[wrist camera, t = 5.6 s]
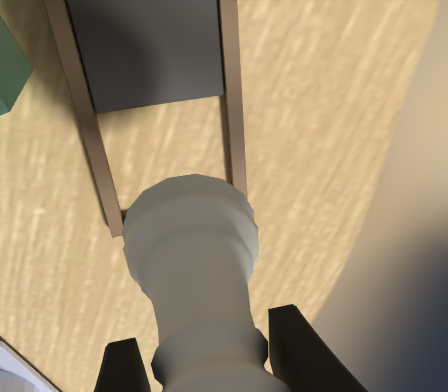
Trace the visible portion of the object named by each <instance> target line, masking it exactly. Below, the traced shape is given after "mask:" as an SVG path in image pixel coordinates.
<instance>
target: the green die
mask: <svg viewBox="0 0 448 392" xmlns="http://www.w3.org/2000/svg"><path fill="white" fill-rule="evenodd" d="M32 71H33V68H32V66H31V64H30V63H29V61H28V60H27V58H26V56H25V55H24V53H23V52H22V50H21V49H20V47H19V45H18V44H17V42H16V41H15V39H14V37H13V36H12V34H11V33H10V31H9V30H8V28H7V26H6V25H5V23H4V22H3V20H2V18H1V17H0V115H3V114H5V113H7V112H10V110H11V109H12V107H13V105H14V103H15V101H16V100H17V98H18V96H19V94H20V92H21V91H22V89H23V87H24V85H25V83H26V82H27V80H28V78H29V76H30V75H31V73H32Z"/></svg>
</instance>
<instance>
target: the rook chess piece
mask: <svg viewBox="0 0 448 392" xmlns="http://www.w3.org/2000/svg"><path fill="white" fill-rule="evenodd" d="M122 235H123V238H124V242H125V244H124V248H123V250H124V254H125V258H126V262H127V265H128V269H129V272H130V274H131V277H132V278H133V279H134V280H135V281H136V282H137V283H138V284H139V285H140V287H141V289H142V291H143V292H144V293H145V294H146V295H147V297H148V298H149V299H150V300H151V301H152V304H153V307H154V312H155V316H156V321H157V325H158V335H159V346H158V347H157V348H156V351H155V354H154V357H153V359H152V362H151V367H152V370H153V374H154V378H155V379H156V380H157V381H158V382H159V383H160V384H161V385H163V390H162V392H292V391H291V390H290V389H289V387H288V386H287V385H286V384H285V383H284V382H283V381H281V380H280V379H278V378H277V377H275V376H274V375H272V374H271V373H269V372H268V371H266V370H265V368H264V364H265V362H266V360H267V358H268V341H267V340H266V338H265V337H264V336H263V334H262V333H261V332H260V330H259V329H257V328H255V326H254V322H253V319H252V315H251V311H250V302H249V293H248V281H249V279H250V277H251V275H252V273H253V266H254V263H255V261H256V259H257V257H258V248H259V247H258V227H257V225H256V224H255V222H254V211H253V209H252V207H251V206H250V204H249V202H248V201H247V199H246V197H245V196H244V194H243V192H241V191H240V190H238V189H237V188H235V187H234V186H232V185H231V184H229V183H228V182H226V181H225V180H223V179H219V178H214V177H209V176H204V175H199V174H191V175H185V176H178V177H171V178H167V179H165V180H163V181H161V182H159V183H158V184H156V185H154V186H152V187H150V188H148V189H146V190H144V191H143V192H142V193H141V195H140V196H139V197H138V198H137V199H136V201H135V202H134V203H133V204H132V205H131V207H130V208H129V209H128V210H127V213H126V218H125V222H124V226H123V230H122Z"/></svg>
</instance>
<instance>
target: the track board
mask: <svg viewBox="0 0 448 392" xmlns="http://www.w3.org/2000/svg"><path fill="white" fill-rule="evenodd" d="M67 1H68V5H69V9H70V13H71V17H72V20H73V24H74V28H75V32H76V36H77V40H78V43H79V47H80V51H81V55H82V59H83V63H84V66H85V70H86V74H87V78H88V82H89V86H90V90H91V93H92V97H93V101H94V105H95V109H96V113H102V112H109V111H116V110H123V109H130V108H136V107H143V106H150V105H157V104H164V103H171V102H178V101H184V100H191V99H198V98H205V97H212V96H219V95H224V92H223V79H222V66H221V53H220V40H219V27H218V15H217V2H216V0H67ZM44 3H45V7H46V10H47V14H48V17H49V21H50V24H51V27H52V31H53V34H54V38H55V41H56V45H57V48H58V52H59V55H60V59H61V62H62V65H63V69H64V72H65V76H66V79H67V83H68V86H69V90H70V93H71V97H72V100H73V103H74V107H75V110H76V114H77V117H78V121H79V124H80V128H81V131H82V135H83V138H84V141H85V145H86V148H87V152H88V155H89V159H90V162H91V166H92V169H93V173H94V176H95V179H96V183H97V186H98V190H99V193H100V197H101V200H102V204H103V207H104V211H105V214H106V217H107V221H108V224H109V228H110V231H111V235H112V237H117V236H123V235H122V230H123V226H124V222H125V218H123V217H122V214H121V210H120V206H119V202H118V198H117V195H116V191H115V187H114V183H113V179H112V176H111V172H110V168H109V164H108V160H107V157H106V153H105V149H104V145H103V141H102V138H101V134H100V130H99V126H98V122H97V118H96V115H95V111H94V107H93V103H92V99H91V96H90V92H89V88H88V84H87V80H86V77H85V73H84V69H83V65H82V61H81V58H80V54H79V50H78V46H77V42H76V39H75V35H74V31H73V27H72V23H71V20H70V16H69V12H68V8H67V4H66V1H65V0H44ZM218 10H219V24H220V37H221V50H222V63H223V76H224V89H225V103H226V116H227V129H228V142H229V155H230V168H231V182H232V186H234V187H235V188H237V189H238V190H240V191H241V192H243V194H244V196H245V197H246V199H247V181H246V162H245V143H244V124H243V105H242V86H241V66H240V47H239V28H238V9H237V0H218Z"/></svg>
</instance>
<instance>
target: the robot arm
mask: <svg viewBox="0 0 448 392" xmlns="http://www.w3.org/2000/svg"><path fill="white" fill-rule="evenodd" d="M268 314H269V358H270V364H271V367H272V371H273V374H274V376H275V377H277V378H278V379H280V380H281V381H283V382H284V383H285V384H286V385H287V386H288V387H289V389H290V390H291V391H292V392H368V391H367V390H366V389H365V388H364V387H363V386H362V385H361V384H360V383H359V382H358V381H357V379H356V378H355V377H354V376H353V375H352V374H351V373H350V372H349V371H348V370H347V368H346V367H345V366H344V365H343V364H342V363H341V362H340V361H339V360H338V359H337V357H336V356H335V355H334V354H333V353H332V351H331V350H330V349H329V348H328V347H327V345H326V344H325V343H324V342H323V341H322V339H321V338H320V337H319V336H318V334H317V333H316V332H315V331H314V329H313V328H312V327H311V326H310V324H309V323H308V322H307V320H306V319H305V318H304V316H303V315H302V314H301V312H300V311H299V309H298V308H297V307H296V306H295V305H293V304H291V305H286V306H281V307H277V308H272V309H268ZM0 392H59V391H58V390H57V389H56V388H54V387H53V386H52V385H51V384H50V383H49V382H48V381H47V380H45V379H44V378H43V377H42V376H41V375H40V374H39V373H38V372H36V371H35V370H34V369H33V368H32V367H31V366H30V365H28V364H27V363H26V362H25V361H24V360H23V359H22V358H21V357H19V356H18V355H17V354H16V353H15V352H14V351H13V350H11V349H10V348H9V347H8V346H7V345H6V344H5V343H4V342H2V341H0ZM94 392H151V389H150V384H149V381H148V378H147V374H146V371H145V368H144V364H143V361H142V358H141V355H140V351H139V348H138V345H137V341H136V338H130V339H126V340H121V341H116V342H111V343H109V344H108V345H107V346H106V347H105V352H104V356H103V360H102V364H101V368H100V372H99V376H98V379H97V383H96V386H95V389H94Z"/></svg>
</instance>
